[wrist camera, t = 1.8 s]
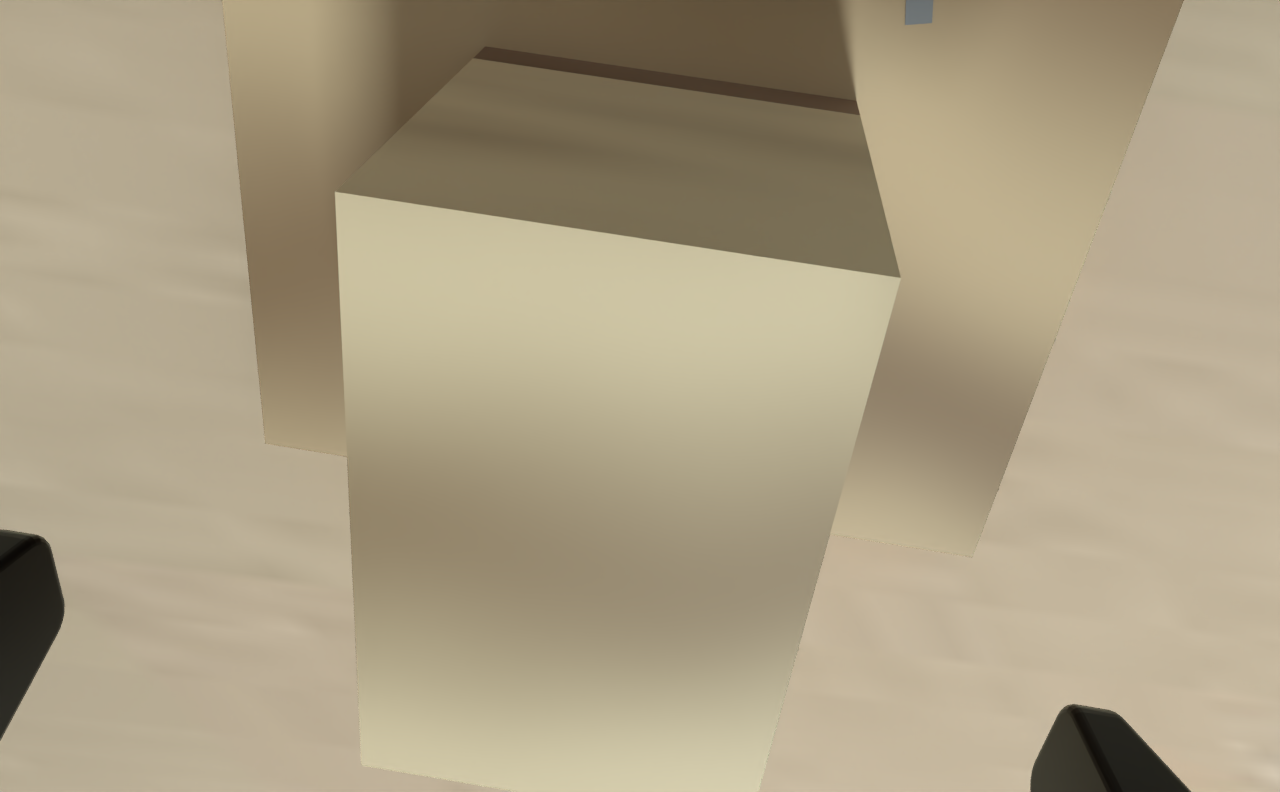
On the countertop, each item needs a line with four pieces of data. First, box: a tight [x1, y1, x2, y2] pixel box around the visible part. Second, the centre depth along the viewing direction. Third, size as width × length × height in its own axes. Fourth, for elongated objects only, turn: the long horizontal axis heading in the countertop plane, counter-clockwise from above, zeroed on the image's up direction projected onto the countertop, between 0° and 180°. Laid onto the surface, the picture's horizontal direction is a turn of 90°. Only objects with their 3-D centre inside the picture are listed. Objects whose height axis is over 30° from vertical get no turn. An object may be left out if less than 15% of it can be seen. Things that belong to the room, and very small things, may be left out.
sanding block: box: [335, 46, 901, 792], centre depth 12 cm, size 7×4×5 cm, turn 173°
